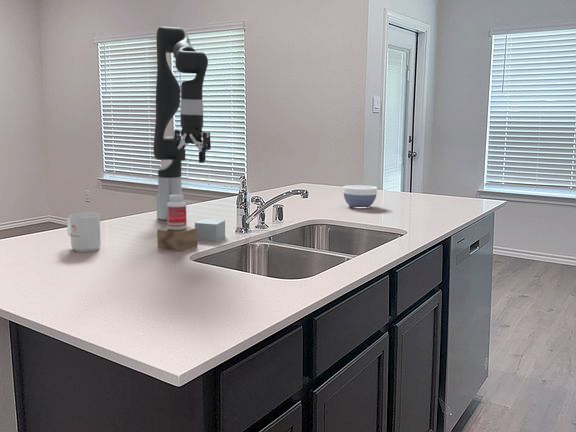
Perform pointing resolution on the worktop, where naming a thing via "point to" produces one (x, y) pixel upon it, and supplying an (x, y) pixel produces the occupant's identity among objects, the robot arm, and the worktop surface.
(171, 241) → the walnut block
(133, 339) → the worktop surface
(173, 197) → the pill bottle
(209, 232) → the grey block
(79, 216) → the mug
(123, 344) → the worktop surface
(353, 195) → the bowl
